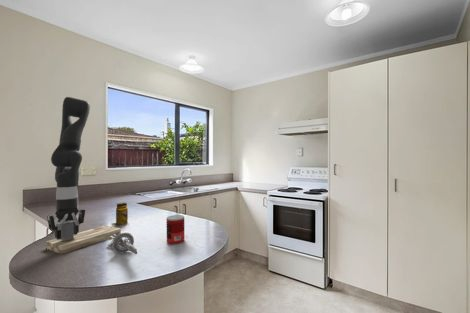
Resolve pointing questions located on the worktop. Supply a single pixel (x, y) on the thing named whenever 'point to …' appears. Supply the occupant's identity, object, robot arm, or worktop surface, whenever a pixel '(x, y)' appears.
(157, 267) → the worktop surface
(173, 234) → the canned food
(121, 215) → the condiment
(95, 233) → the wooden board
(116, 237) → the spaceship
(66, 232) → the fader knob
